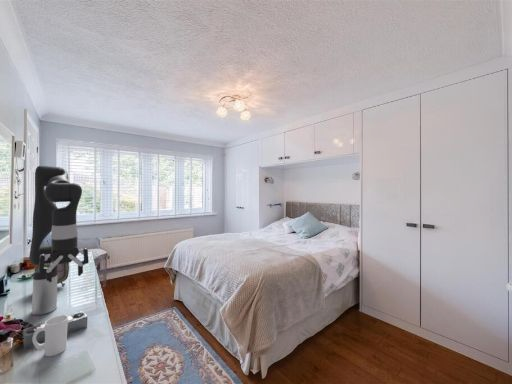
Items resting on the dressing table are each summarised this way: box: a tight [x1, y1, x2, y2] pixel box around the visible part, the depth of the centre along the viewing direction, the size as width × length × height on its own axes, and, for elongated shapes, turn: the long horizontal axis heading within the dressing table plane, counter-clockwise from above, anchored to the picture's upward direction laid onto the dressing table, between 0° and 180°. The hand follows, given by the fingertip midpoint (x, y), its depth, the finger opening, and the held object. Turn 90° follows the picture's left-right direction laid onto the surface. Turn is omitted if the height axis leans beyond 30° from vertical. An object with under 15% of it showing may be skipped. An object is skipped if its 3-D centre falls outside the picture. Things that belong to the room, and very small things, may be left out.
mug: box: [32, 314, 68, 357], centre depth 88 cm, size 10×7×12 cm, turn 130°
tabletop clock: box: [33, 263, 70, 287], centre depth 142 cm, size 14×9×25 cm, turn 168°
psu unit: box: [22, 310, 88, 350], centre depth 99 cm, size 7×20×5 cm, turn 140°
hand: (65, 278), depth 88 cm, fingers open, 8 cm apart
